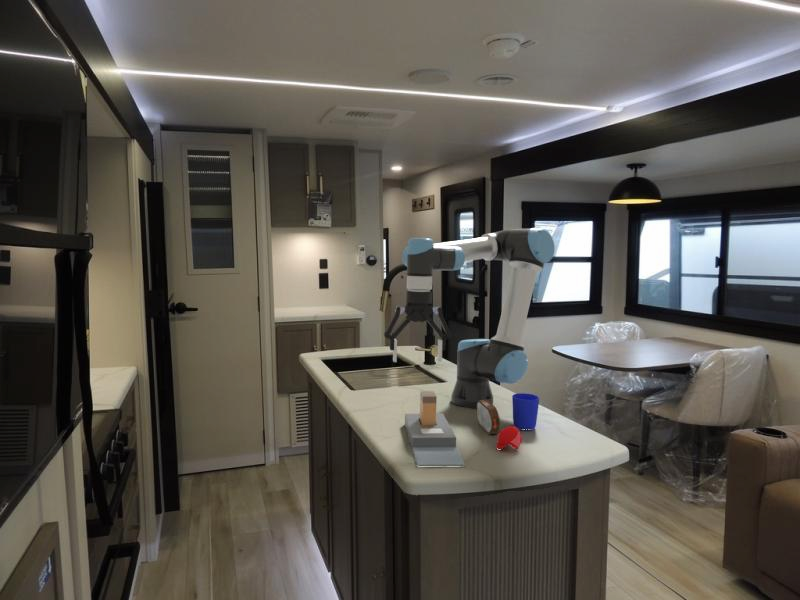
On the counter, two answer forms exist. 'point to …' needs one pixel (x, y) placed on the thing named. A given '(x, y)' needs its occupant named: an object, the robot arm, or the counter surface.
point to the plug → (427, 408)
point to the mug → (525, 410)
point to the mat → (437, 456)
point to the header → (429, 432)
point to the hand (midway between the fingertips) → (417, 361)
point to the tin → (488, 417)
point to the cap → (509, 437)
